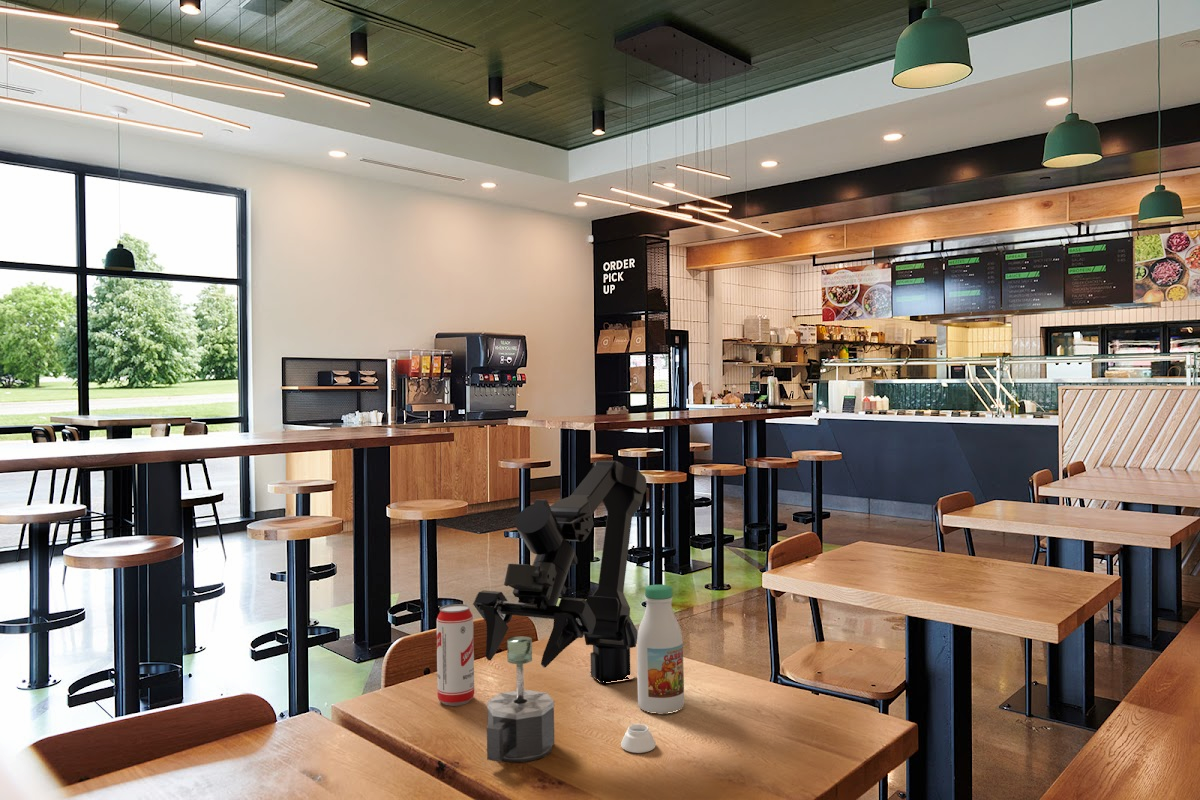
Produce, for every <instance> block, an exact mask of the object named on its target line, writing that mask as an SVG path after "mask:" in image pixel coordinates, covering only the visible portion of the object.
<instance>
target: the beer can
mask: <svg viewBox="0 0 1200 800" xmlns="http://www.w3.org/2000/svg"><path fill="white" fill-rule="evenodd" d="M470 607H471V606H470V605H467V604H464V603H454V604H446V605H444V606H441V607H439V613H438V614H437V617H436V672H437V673H436V675H437V676H436V677H437V682H436V683H437V698H438V700H439V701H440V702H441V703H442V704H443V705H444V706H445V705H446V706H448V707H449V706H450V707H454V706H455V707H456V706H457V707H458V706H462V705H465V704H468V703H469V702H470V701H471V700H472V699H473V698H474V696H475V655H474V654H475V653H474V652H475V651H474V650H475V649H474V646H475V645H474V644H475V643H474V640H475V638H474V615H473V613H472V612H471V610H470Z"/></svg>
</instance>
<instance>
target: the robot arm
mask: <svg viewBox="0 0 1200 800" xmlns="http://www.w3.org/2000/svg"><path fill="white" fill-rule="evenodd" d="M647 484H648V483H647V478H646V477H645V475H644V474H643V473H642V472H641V471H640V470H639V469H635V468H632V467H629V466H626V465H624V464H623V463H621V462H620V461H618V460H597V461H595V462H593V463H592V465H591V469H590V470H589V472H588V473H587V475H586V476H585V477H584V478H583V480H581V482H580V483H579V485H578V486H577V487H576V488H575V490H574V491H573V492H572V493H571V495H569V496H568V497H567V496H566V497H564V498H562V499H558V500H556V501H555V502H554V503H552V504H551V505H550V503H549V502H548V500H547V499H535V500H534V501H533V504H530V505H529V506H526V507H525V508H523V509H522V510H521V511H520V512H519V513H518V514H517V515H516V517H515V520H514V526H515V529H516V531H517V532H518V534H519V535H520V537H521V538H522V540H523V542H524V543H525V545H526V547H527V548H528V550H529V552H531V553H532V554H534V555H535V557H534V560H533V562H532V565H531V564H523V563H522V564H519V563H508V564H507V567H506V573H505V578H504V584H503V585H504V586H506V587H510V588H512V589H513V590H512V595H513V596H514V597H515V598H518V601H509V600H508V599H507V597H506V596H505V595H504V593H503V591H494V590H484V589H483V590H480V591H479V592H477V594H476V596H475V598H474V600H473V602H472V605H473V607H474V608H475V609H476V611H477V612H478V613H479V614H480V616H481V618H483V620H484V622H485V623H486V625H485V626H486V638H485V639H486V642H485V643H486V644H485V646H486V647H485V658H486V659H487V661H491V660H492V659H493V658H494V656H495V655H496V653H497V652H498V649H499V647H500V645H501V644H502V642H503V640H504V638H505V636H506V634H507V632H508V630H509V628H510V627H509V626H508V625H507V624H508V623H510V622H511V620H512V617H513V616H518V617H519V616H521V617H529V618H539V619H548V620H549V619H550V620H553V628H552V630H551V632H550V636H549V639H548V641H547V643H546V646H545V648H544V650H543V654H542V658H541V660H540V662H541V663H540V665H541V666H542V668H547V667H548V666H549V665H550V664H551V663H552V661H554V660H555V659H556V658H557V657H558V656H559V655H560V654H561V653H562V652H563V651H564V650H566V648H567V647H569V646H570V645H572V643H574V642H575V641H576V640H577V639H579V638H580V639H581V638H582V639H583V637H584V641H585V645H586V646H592V652H590V673H591V675H592V678H594V677H595V678H596V679H598V680H599V681H600V682H601V683H606V682H611V681H617V680H623V679H629V678H628V677H626V676H627V675H630V674H631V649H633V648H637V636H638V629H637V627H636V626H635V624H634V622H633V620H632V618H631V608H630V605H629V602H628V600H627V598H626V596H625V593H624V589H625V581H626V580H625V579H626V572H627V565H628V563H627V562H628V554H629V548H630V547H629V546H630V539H631V538H630V536H631V529H632V521H633V516H634V515H635V514H636V513H637V511H638V510H639V509H640V508H641V506H642V504H643V500H644V494H645V493H646V490H647ZM601 503H603V505H604V507H605V509H606V511H607V512H606V513H607V515H606V520H605V521H606V523H605V529H604V530H605V531H604V536H603V537H604V538H603V547H602V554H601V561H600V569H599V577H598V585H597V588H596V590H595V591H594V592H593V594H592V595H588V596H587V597H586V599H585V598H577V597H568V596H567V597H566V596H564V597H563V598H561V599H560V600H559V598H560V596H561V595H565V594H566V591H567V587H566V585H565V582H566V579H567V576H568V573H569V571H570V568H571V565H574V566H575V565H577V564H578V557H577V555H576V551H575V548H574V547H573V545H572V543H571V542H584V541H585V540H586V539H588V537H589V535H590V533H591V532H592V530H593V527H594V520H593V515H594V513H595V511H596V510H597V509H598V507H599V506H600V505H601ZM558 601H559V604H558ZM590 673H589V674H590ZM591 675H590V676H591ZM625 677H626V678H625ZM595 678H594V679H595ZM596 679H595V680H596ZM603 681H604V682H603ZM600 682H599V683H600ZM601 683H600V684H601Z"/></svg>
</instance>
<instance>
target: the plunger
mask: <svg viewBox="0 0 1200 800" xmlns="http://www.w3.org/2000/svg"><path fill="white" fill-rule="evenodd" d="M506 642H507V643H506V647H507V650H506V651H507V652H506V653H507V654H506V655H507V662H508V663H509V664H512V665H516V691H517V704H522V703H524V690H525V686H524V681H525V680H524V679H525V677H524V664H528V663H531V662H532V661H533V639H532V637H529V636H525V635H524V636H523V635H522V636H521V635H520V636H513V637H509V638H507V640H506Z"/></svg>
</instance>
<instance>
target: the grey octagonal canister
mask: <svg viewBox="0 0 1200 800" xmlns="http://www.w3.org/2000/svg"><path fill="white" fill-rule="evenodd" d="M554 707H555V700H554V699H553V698H552V697H551V696H550V695H549V694H548V692H544V691H538V690H530V689H524V703H522V704H517V690H513V691H507V692H500V693H498V694H497V695H495V696H493V697H491V698H490V699H489V700H487V701H486V708H487V726H486V756H487V757H486V759H487V760H488V761H493V762H498V763H500V762H506V763H512V764H513V763H516V764H517V763H528V762H533V761H537V760H540V759H542V758H544V757H547V756H548V755H549V754H550V753H551V752H552V749H553V745H554V744H555V710H554V709H555V708H554Z"/></svg>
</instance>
